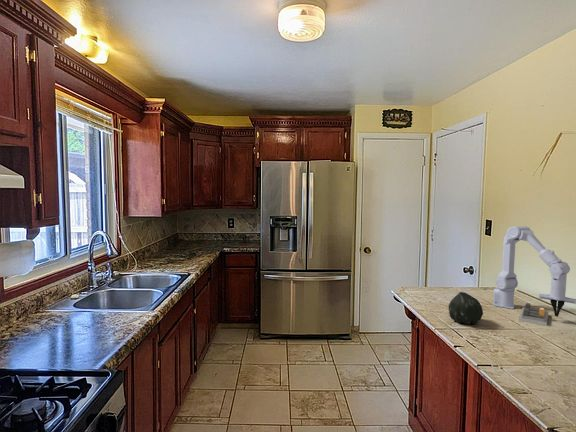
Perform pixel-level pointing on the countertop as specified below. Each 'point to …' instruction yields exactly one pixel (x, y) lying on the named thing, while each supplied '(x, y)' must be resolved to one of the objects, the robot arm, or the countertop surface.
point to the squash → (465, 309)
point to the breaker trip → (541, 311)
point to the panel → (534, 317)
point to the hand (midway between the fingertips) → (556, 315)
